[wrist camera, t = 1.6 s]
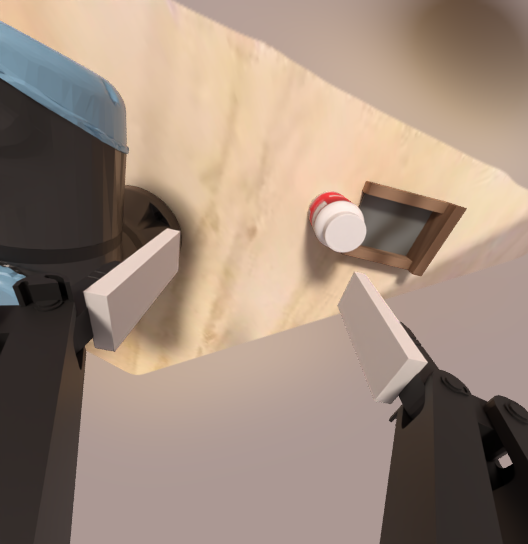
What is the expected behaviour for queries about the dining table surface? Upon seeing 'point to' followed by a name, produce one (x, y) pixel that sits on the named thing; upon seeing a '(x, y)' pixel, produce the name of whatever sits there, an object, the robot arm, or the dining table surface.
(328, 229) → the pill bottle
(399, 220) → the tray
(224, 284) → the dining table surface
